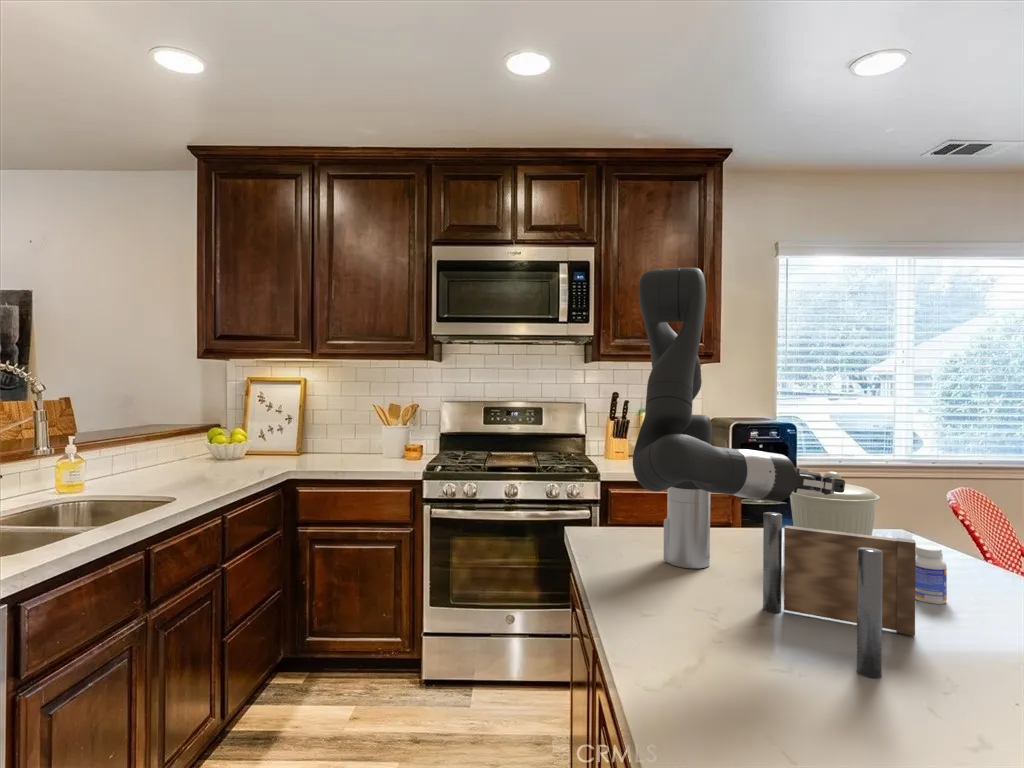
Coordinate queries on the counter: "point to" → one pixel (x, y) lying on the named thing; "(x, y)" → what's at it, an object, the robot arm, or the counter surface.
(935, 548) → the pill bottle
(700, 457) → the robot arm
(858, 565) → the gate posts
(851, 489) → the canister
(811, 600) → the gate leaf
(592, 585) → the counter surface
